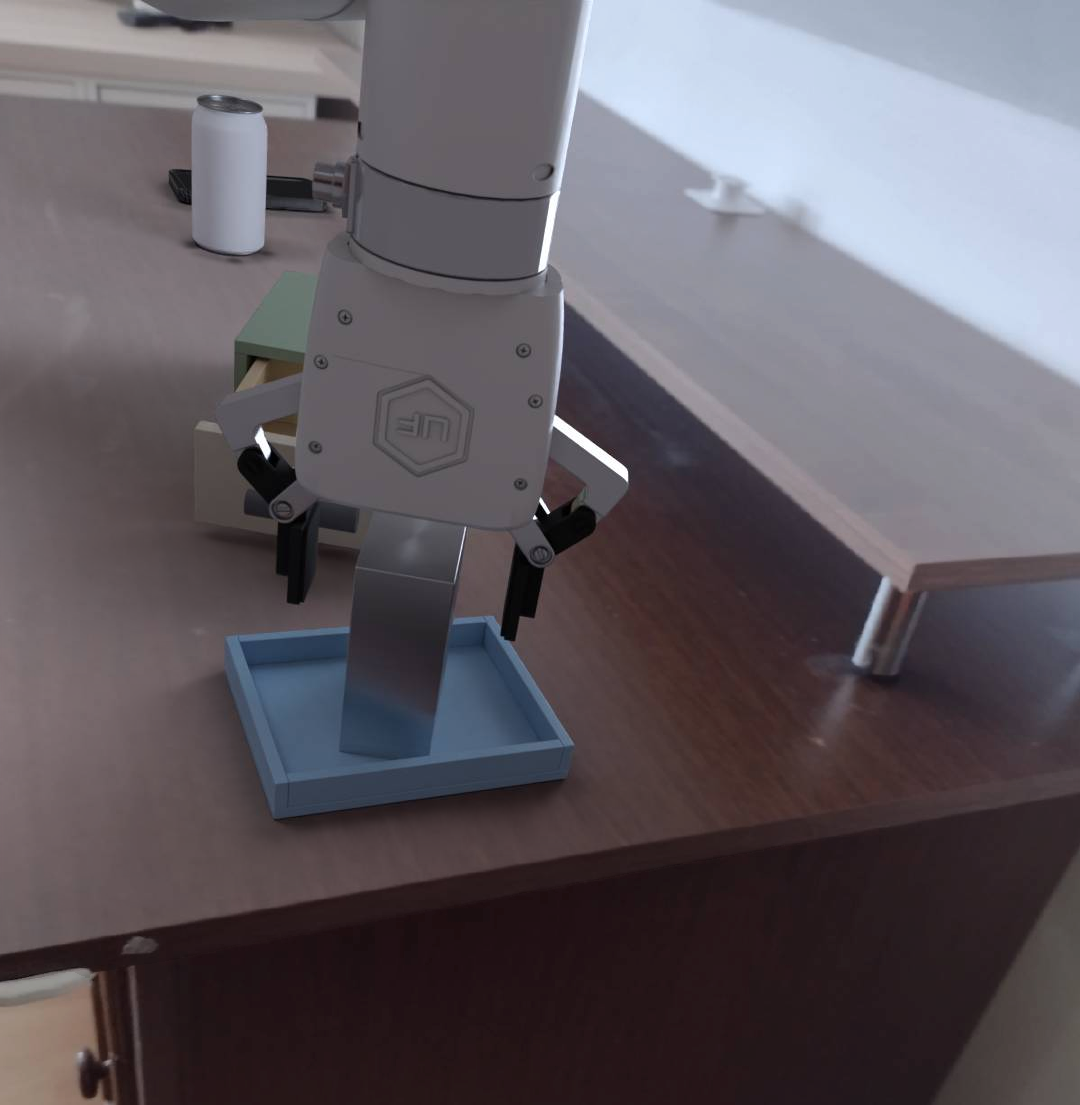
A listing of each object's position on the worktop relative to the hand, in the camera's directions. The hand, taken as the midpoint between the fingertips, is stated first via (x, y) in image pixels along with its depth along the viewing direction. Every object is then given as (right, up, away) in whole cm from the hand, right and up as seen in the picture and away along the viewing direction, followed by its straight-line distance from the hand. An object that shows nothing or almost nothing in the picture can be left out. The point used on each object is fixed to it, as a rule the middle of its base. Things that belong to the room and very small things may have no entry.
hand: (405, 606), depth 55 cm
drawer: (-7, +8, +18) cm, 21 cm away
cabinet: (-7, +16, +30) cm, 34 cm away
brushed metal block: (-1, -5, +4) cm, 6 cm away
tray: (-1, -5, +4) cm, 7 cm away
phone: (-24, +49, +69) cm, 88 cm away
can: (-23, +39, +56) cm, 72 cm away
